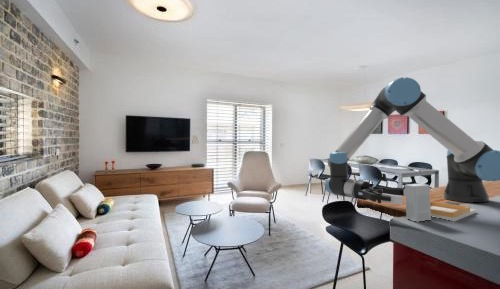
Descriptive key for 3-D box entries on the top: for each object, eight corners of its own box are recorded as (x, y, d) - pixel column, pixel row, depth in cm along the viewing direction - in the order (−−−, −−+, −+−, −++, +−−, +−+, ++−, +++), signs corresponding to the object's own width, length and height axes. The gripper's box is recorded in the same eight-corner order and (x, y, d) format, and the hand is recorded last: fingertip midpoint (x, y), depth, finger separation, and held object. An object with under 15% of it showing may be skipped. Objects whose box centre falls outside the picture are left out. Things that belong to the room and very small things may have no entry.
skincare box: (420, 217, 86) (418, 183, 86) (431, 221, 82) (430, 184, 82) (405, 219, 84) (404, 184, 85) (416, 222, 80) (414, 186, 80)
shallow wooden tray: (434, 206, 101) (434, 199, 101) (476, 212, 89) (475, 205, 89) (411, 213, 92) (411, 205, 92) (454, 221, 80) (453, 213, 80)
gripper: (376, 195, 109) (431, 203, 90) (338, 202, 96) (392, 214, 78) (376, 178, 109) (430, 183, 90) (337, 183, 96) (391, 191, 78)
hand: (413, 197), depth 84 cm, fingers open, 13 cm apart
